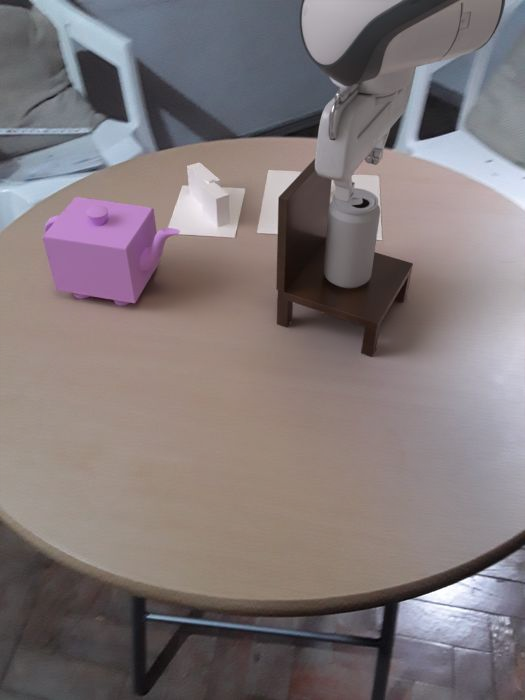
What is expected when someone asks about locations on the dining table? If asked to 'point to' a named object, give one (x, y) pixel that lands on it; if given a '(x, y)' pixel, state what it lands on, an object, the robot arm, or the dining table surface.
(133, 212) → the teapot
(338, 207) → the beverage can
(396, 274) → the wooden doll chair
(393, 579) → the dining table surface
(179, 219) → the napkin holder
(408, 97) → the robot arm
